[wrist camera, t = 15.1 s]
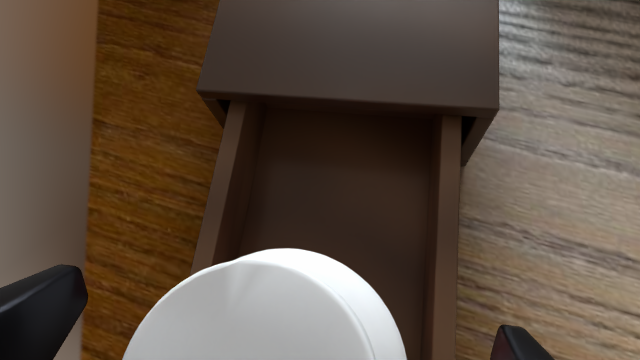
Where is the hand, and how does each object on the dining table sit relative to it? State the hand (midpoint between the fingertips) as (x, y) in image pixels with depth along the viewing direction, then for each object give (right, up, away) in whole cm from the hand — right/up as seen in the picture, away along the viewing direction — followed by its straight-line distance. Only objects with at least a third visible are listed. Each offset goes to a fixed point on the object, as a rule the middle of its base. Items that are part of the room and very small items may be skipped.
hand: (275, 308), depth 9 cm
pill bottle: (+1, -5, +9) cm, 10 cm away
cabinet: (+4, +13, +17) cm, 21 cm away
